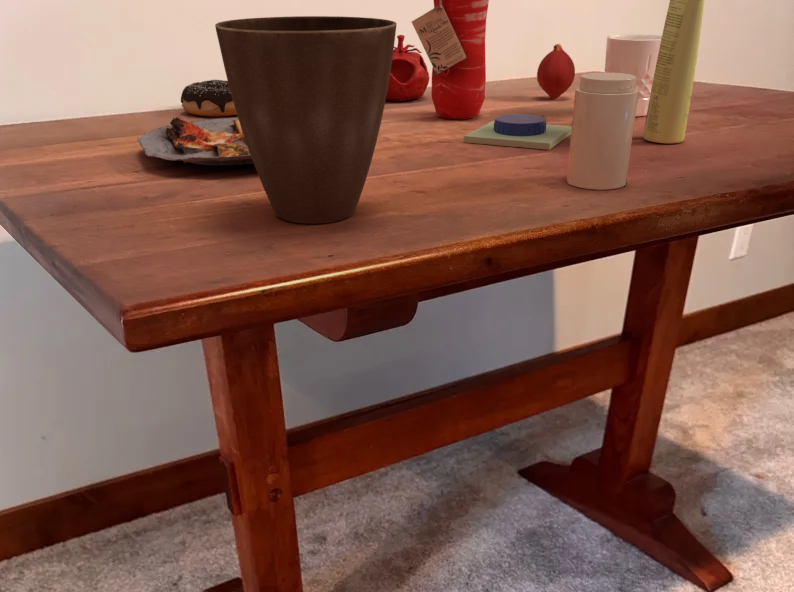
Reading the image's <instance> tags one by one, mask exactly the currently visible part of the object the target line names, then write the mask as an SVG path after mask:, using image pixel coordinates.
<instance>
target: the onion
mask: <svg viewBox="0 0 794 592" xmlns="http://www.w3.org/2000/svg"><path fill="white" fill-rule="evenodd" d="M536 72H537V73H536V80H537V83H538V86H539V87H540V88H541V89H542V90H543V92H545V94H546V95H547V96H548V97H549V98H550V99H552V100H555V99H556V100H557V99H558V98H559V97H561V95H563V94H565V93H566V92H567V91H568V90H569V89H570V87H571V86H572V84H573V83H574V80H575V76H576V67H575V63H574V61H573V59H572V58H571V57H570V55H569V54H568V53H567V52H566V51H565V50H564V49H563V46H562V45H561V44H560V43H556V44H554V45H553V50H552V51H549V52H548V53H547V54H546V55H545V56H544V57H543V58H542V59H541V61H540V63H539V64H538V67H537V71H536Z"/></svg>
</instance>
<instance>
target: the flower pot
mask: <svg viewBox="0 0 794 592" xmlns="http://www.w3.org/2000/svg"><path fill="white" fill-rule="evenodd" d="M397 25H398V24H397V22H396V21H394V20H390V19H384V18H377V17H375V18H374V17H361V16H337V15H336V16H333V15H332V16H331V15H329V16H327V15H303V16H302V15H299V16H293V15H292V16H269V17H268V16H267V17H249V18H248V17H247V18H238V19H231V20H224V21H219V22H216V23H215V24H214V28H215V31H216V36H217V40H218V45H219V49H220V54H221V58H222V63H223V67H224V72H225V76H226V81H228V84H229V88H230V92H231V95H232V99H233V102H234V106H235V109H236V113H237V115H236V117H238V119H239V122H240V126H241V129H242V132H243V135H244V138H245V141H246V143H247V146H248V149H249V152H250V155H251V157H252V160H253V165H254V167H255V171H256V172H257V175H258V178H259V181H260V183H261V186H262V187H263V190H264V192H265V194H266V197H267V199H268V201H269V203H270V205H271V208H272V210H273V212H274V214H275V215H276V217H277V218H279V219H281V220H284V221H287V222H291V223H298V224H309V225H310V224H311V225H313V224H315V225H316V224H328V223H334V222H339V221H343V220H346V219H348V218H350V217H352V216H353V215H354V214H355V212H356V210H357V208H358V204H359V202H360V199H361V195H362V193H363V190H364V187H365V184H366V180H367V177H368V174H369V170H370V167H371V163H372V160H373V157H374V153H375V149H376V145H377V141H378V137H379V133H380V130H381V125H382V120H383V115H384V110H385V105H386V101H387V100H386V95H387V90H388V85H389V78H390V72H391V65H392V58H393V50H394V47H395V40H396V33H397ZM345 218H346V219H345Z"/></svg>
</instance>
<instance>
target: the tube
mask: <svg viewBox="0 0 794 592" xmlns="http://www.w3.org/2000/svg"><path fill="white" fill-rule="evenodd" d="M704 6H705V0H669V3H668V7H667V12H666V16H665V21H664V25H663V29H662V35H661V36H662V38H661V43H660V48H659V53H658V58H657V63H656V68H655V73H654V78H653V83H652V89H651V94H650V100H649V105H648V111H647V115H646V116H645V117H646V118H645V121H644V122H645V123H644V128H643V135H642V137H643V139H644V140H645V141H648V142H650V143H651V142H652V143H657V144H679V143H683V141H684V140H685V136H686V131H687V126H688V124H687V123H688V120H689V112H690V107H691V100H692V93H693V88H694V81H695V74H696V68H697V59H698V54H699V53H698V52H699V45H700V38H701V31H702V23H703V16H704V15H703V14H704Z"/></svg>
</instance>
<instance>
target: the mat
mask: <svg viewBox="0 0 794 592" xmlns="http://www.w3.org/2000/svg"><path fill="white" fill-rule="evenodd" d="M494 122H495V119H494V120H491V121H489V122H487V123H486V124H484V125H481V126H480V127H478V128H476V129H474V130H472V131H471V132H468V133H467V134H464V135H463V143H467V144H476V145H489V146H500V147H501V146H502V147H512V148H522V149H532V150H533V149H534V150H543V151H544V150H545V151H550V150H552V149H553V148H554V147H556V146H557V145H558V144H560V143H561V142H563V141H564V140H565V139H567V138H568V137H570V136H571V130H572V125H559V124H548V123H546V132H544V133H543V134H539V135H534V136H509V135H502V134H499V133H496V132H495V131H494Z"/></svg>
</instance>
